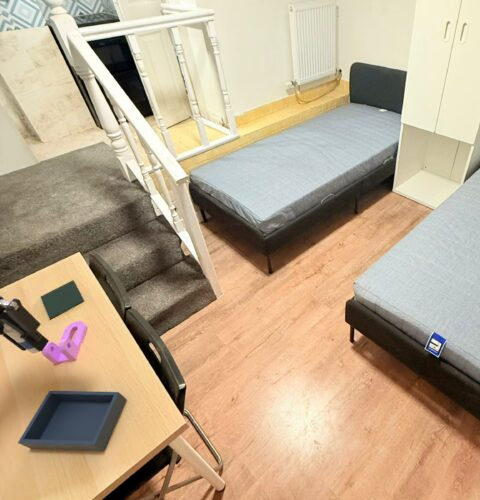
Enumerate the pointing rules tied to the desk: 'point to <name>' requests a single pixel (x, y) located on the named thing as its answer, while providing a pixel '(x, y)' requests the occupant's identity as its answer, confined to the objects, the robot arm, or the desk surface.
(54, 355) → the bracket
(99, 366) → the desk surface
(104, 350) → the desk surface
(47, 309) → the desk mat
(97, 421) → the dark blue tray
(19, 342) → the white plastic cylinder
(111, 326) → the desk surface
